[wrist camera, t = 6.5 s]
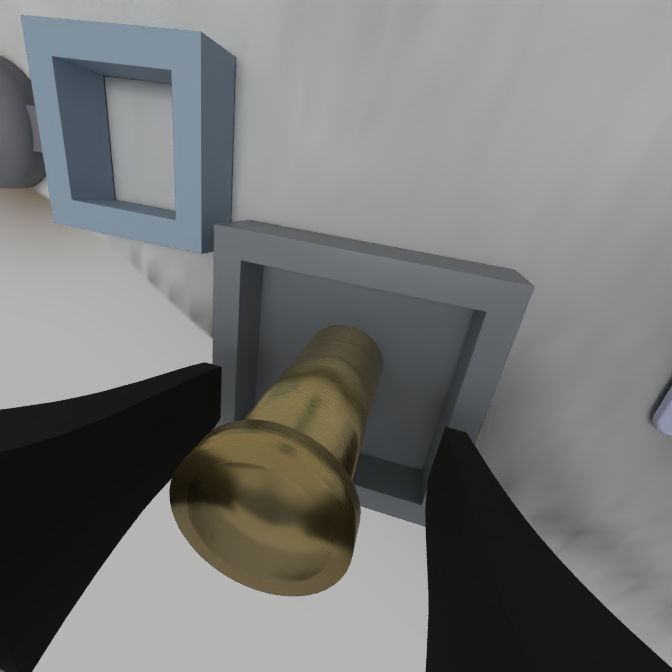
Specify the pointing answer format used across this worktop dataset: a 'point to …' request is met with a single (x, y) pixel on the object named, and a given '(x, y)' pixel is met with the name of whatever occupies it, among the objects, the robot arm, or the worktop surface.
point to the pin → (285, 473)
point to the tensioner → (92, 126)
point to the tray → (381, 325)
